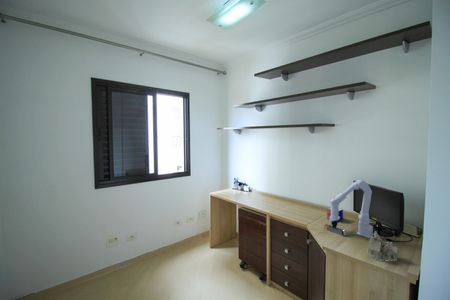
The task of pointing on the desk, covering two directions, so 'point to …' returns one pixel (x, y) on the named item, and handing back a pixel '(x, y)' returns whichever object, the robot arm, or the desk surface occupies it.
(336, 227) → the arm
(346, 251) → the desk surface
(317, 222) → the desk surface
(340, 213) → the puzzle cube
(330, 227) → the tongs fixed
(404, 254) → the desk surface
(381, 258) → the ceramic cottage
